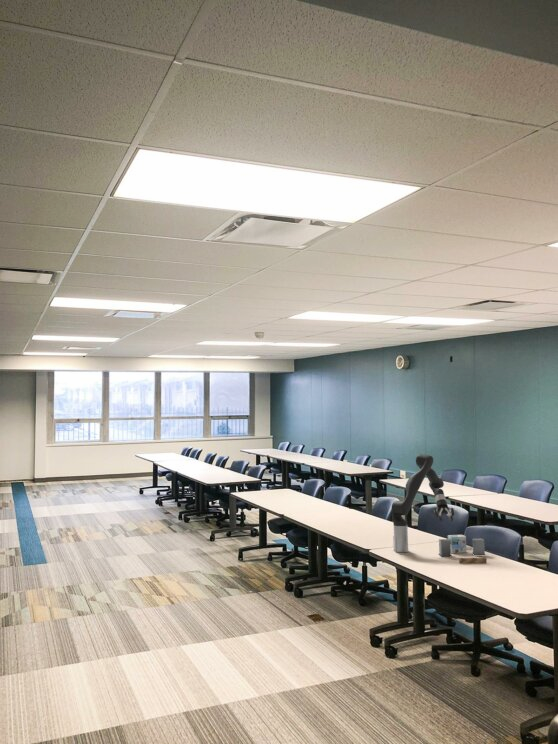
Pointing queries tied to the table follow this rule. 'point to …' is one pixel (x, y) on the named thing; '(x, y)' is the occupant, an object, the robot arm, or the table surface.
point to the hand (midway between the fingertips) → (446, 521)
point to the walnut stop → (472, 560)
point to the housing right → (478, 547)
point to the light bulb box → (457, 543)
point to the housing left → (444, 548)
